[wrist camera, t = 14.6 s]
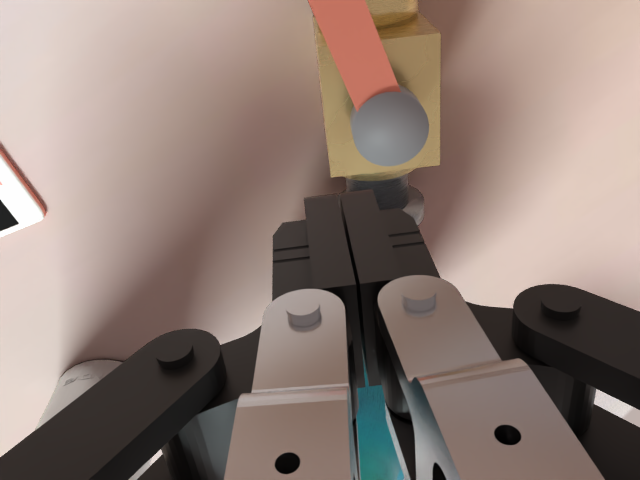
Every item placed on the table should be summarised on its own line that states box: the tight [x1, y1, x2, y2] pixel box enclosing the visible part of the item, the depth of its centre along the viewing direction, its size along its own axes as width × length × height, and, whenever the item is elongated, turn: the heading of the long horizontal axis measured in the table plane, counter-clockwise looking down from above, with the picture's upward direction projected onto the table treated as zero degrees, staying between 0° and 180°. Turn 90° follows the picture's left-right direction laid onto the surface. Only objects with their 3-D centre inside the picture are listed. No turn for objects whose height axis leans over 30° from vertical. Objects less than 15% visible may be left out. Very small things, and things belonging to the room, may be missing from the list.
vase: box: [356, 353, 404, 480], centre depth 38 cm, size 11×11×19 cm
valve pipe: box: [313, 0, 441, 226], centre depth 33 cm, size 18×6×9 cm, turn 6°
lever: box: [308, 0, 429, 166], centre depth 25 cm, size 14×4×2 cm, turn 25°
